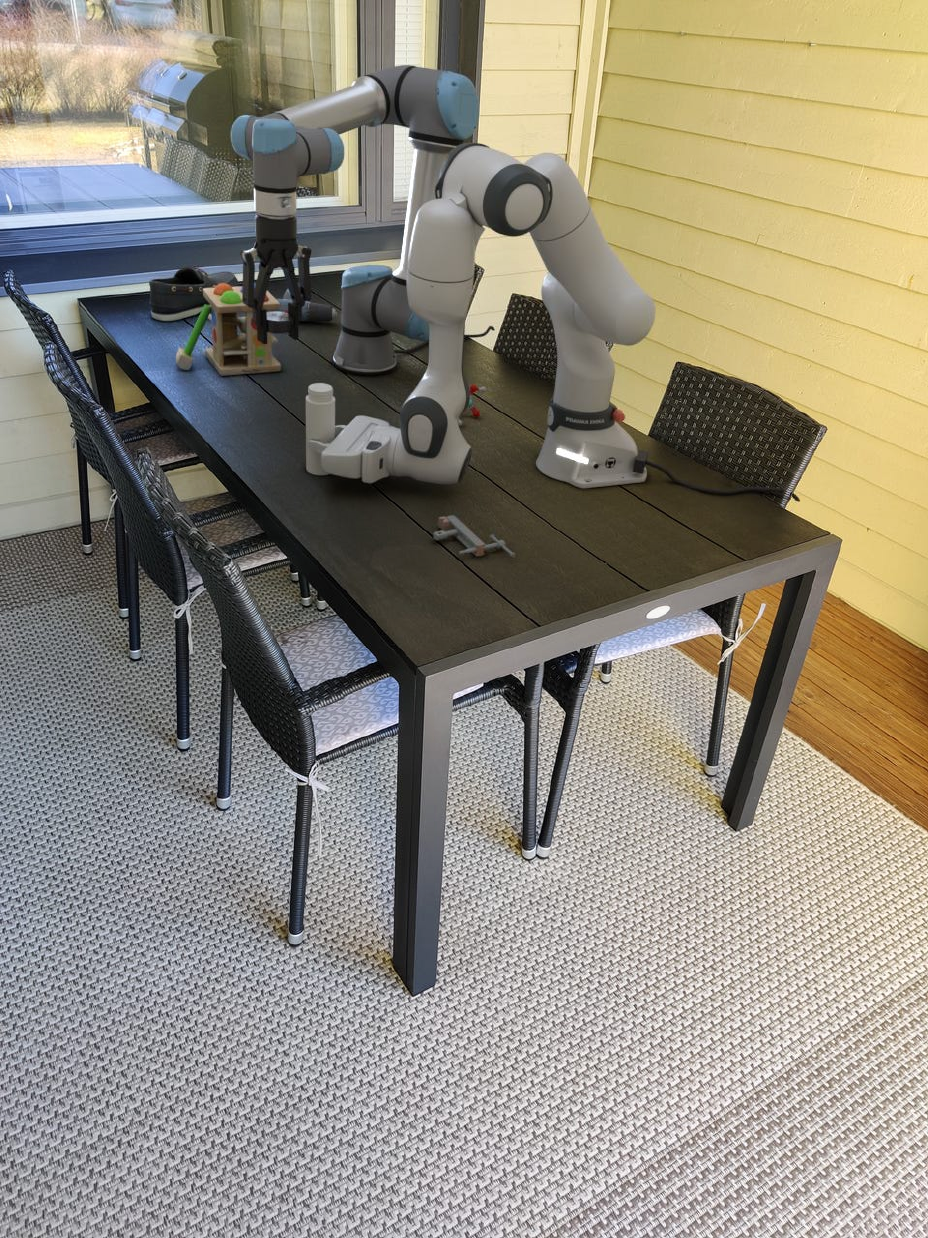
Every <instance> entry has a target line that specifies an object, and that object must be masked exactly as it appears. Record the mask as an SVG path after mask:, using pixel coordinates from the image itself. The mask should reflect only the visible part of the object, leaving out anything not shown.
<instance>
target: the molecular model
mask: <svg viewBox="0 0 928 1238" xmlns="http://www.w3.org/2000/svg"><path fill="white" fill-rule="evenodd" d="M469 390H470V400H469V404H468V406H467V408H469V409H470V411H471V412H472V415H473V417H474V418H479V417H480V416H481V412H480V410H478V409H477V408H476V407H475V406H474V402H473V400H472V398H473V395H474V393H475V392H477V391H480V392H482V393H485V392H486V391H487V388H486V387H485V386H481V387H477V385H475V384H471V385H469ZM457 422H458V426H459V427H461V426H463V421H462V420H461V419H460V417H459V418H458V420H457Z"/></svg>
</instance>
